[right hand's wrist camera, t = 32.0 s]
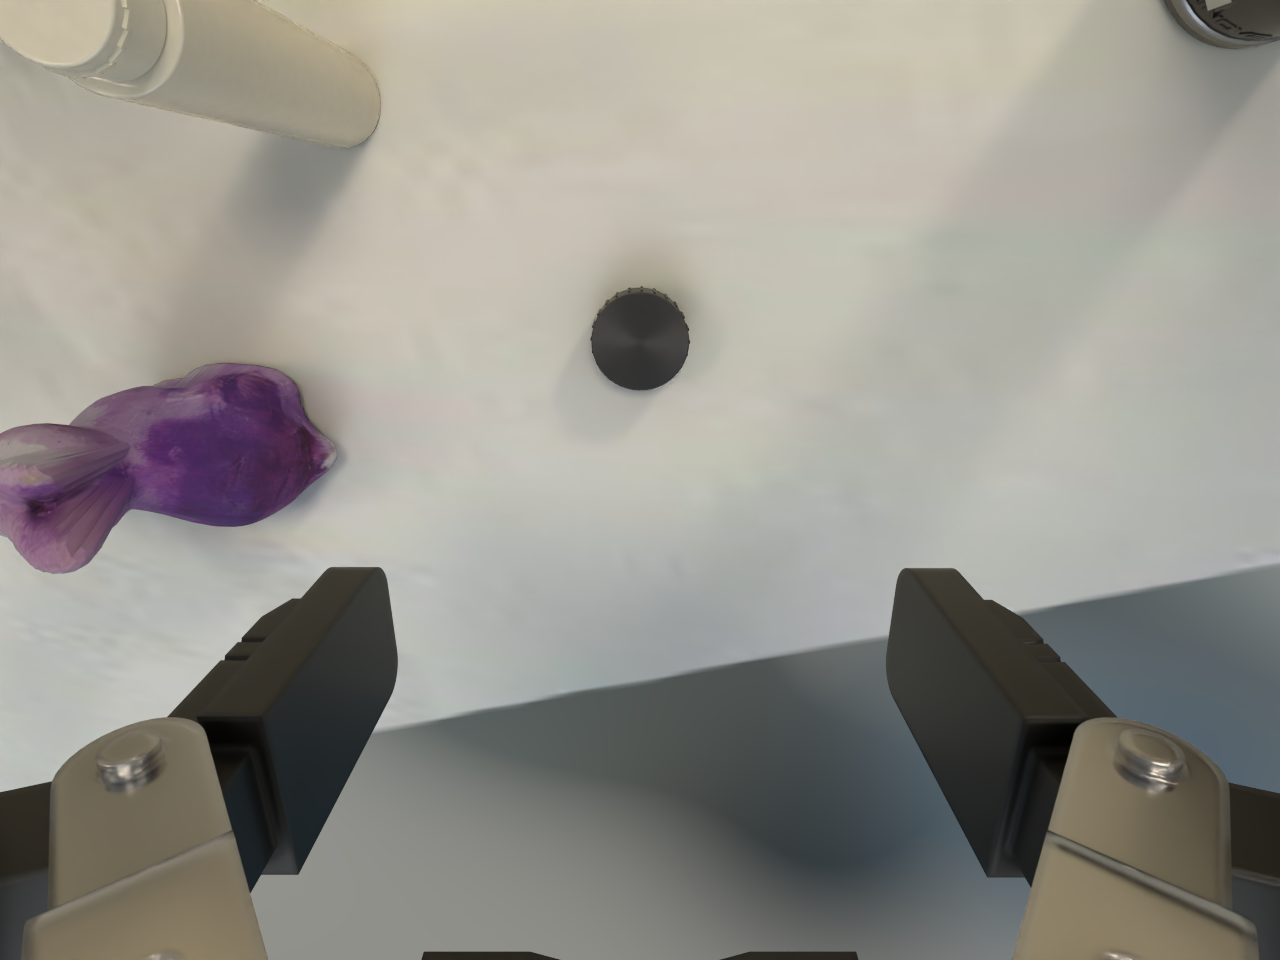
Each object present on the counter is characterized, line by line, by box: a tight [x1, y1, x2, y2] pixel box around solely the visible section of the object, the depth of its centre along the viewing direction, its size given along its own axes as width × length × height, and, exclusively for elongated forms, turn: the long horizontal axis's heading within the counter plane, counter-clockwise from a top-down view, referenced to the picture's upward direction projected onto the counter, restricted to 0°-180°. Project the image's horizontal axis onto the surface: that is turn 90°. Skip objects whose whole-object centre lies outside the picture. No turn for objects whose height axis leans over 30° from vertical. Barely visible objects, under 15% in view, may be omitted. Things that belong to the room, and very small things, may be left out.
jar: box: [0, 0, 380, 148], centre depth 26 cm, size 4×4×18 cm
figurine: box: [0, 363, 337, 574], centre depth 33 cm, size 9×10×15 cm
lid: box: [591, 286, 690, 390], centre depth 37 cm, size 5×5×2 cm
